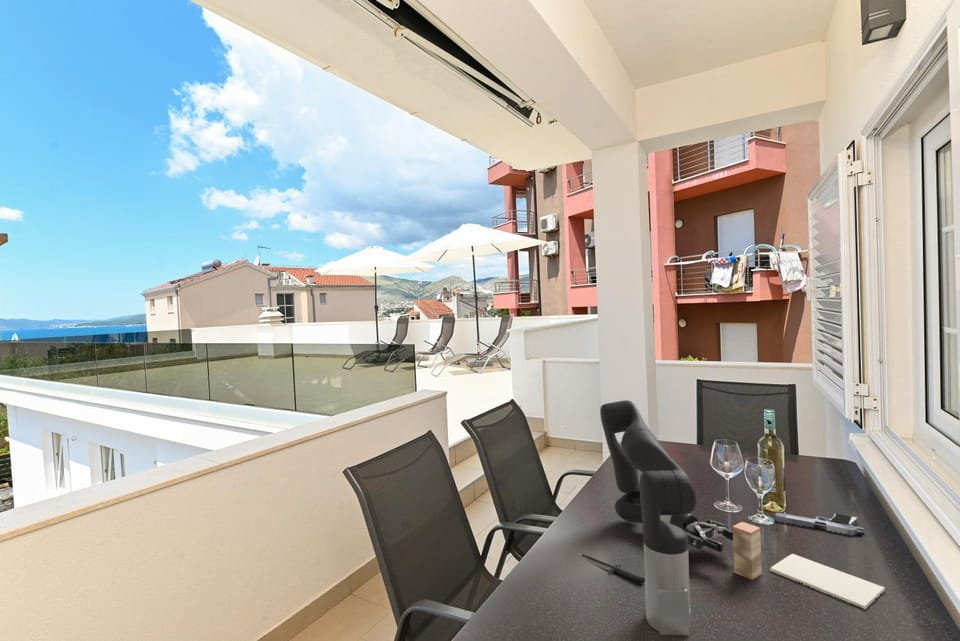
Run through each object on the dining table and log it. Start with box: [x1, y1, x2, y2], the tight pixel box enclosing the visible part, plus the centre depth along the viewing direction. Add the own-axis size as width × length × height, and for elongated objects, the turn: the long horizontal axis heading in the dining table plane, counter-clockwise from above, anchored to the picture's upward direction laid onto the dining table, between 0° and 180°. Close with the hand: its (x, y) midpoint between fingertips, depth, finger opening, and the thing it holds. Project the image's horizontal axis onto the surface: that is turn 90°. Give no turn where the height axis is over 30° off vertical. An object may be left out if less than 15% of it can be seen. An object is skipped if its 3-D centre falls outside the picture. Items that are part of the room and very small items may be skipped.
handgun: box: [774, 512, 865, 537], centre depth 149 cm, size 2×22×12 cm
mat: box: [769, 553, 886, 610], centre depth 117 cm, size 20×12×1 cm, turn 33°
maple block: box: [732, 521, 763, 581], centre depth 122 cm, size 5×5×12 cm
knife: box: [580, 553, 645, 585], centre depth 128 cm, size 25×2×5 cm
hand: (731, 543), depth 125 cm, fingers open, 8 cm apart
